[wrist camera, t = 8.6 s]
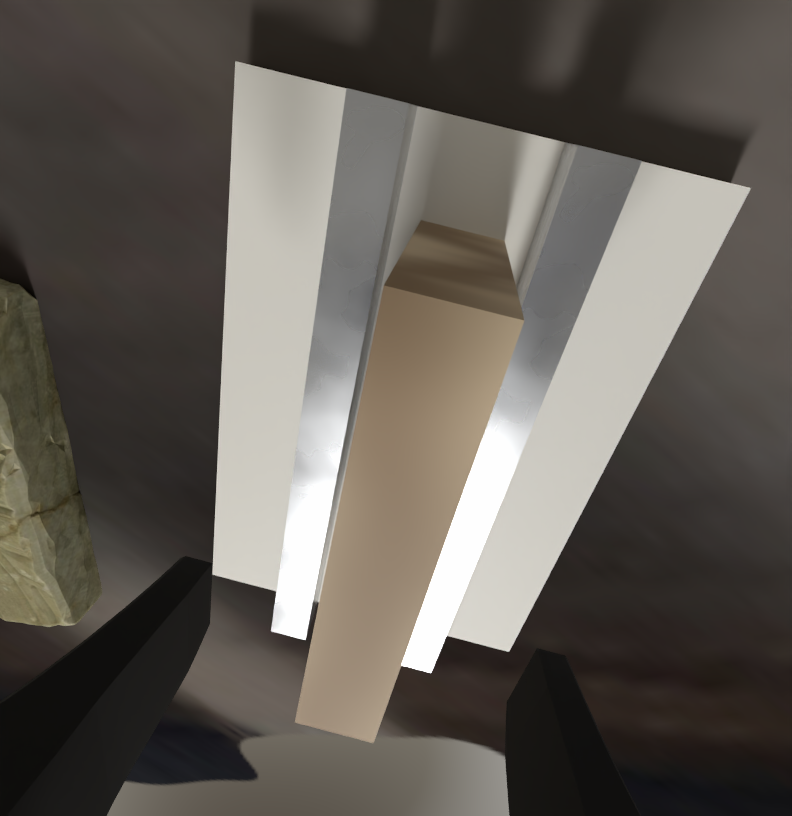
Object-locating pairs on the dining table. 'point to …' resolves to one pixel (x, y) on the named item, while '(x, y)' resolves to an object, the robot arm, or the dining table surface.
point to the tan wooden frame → (408, 465)
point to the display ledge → (357, 314)
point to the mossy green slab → (38, 481)
